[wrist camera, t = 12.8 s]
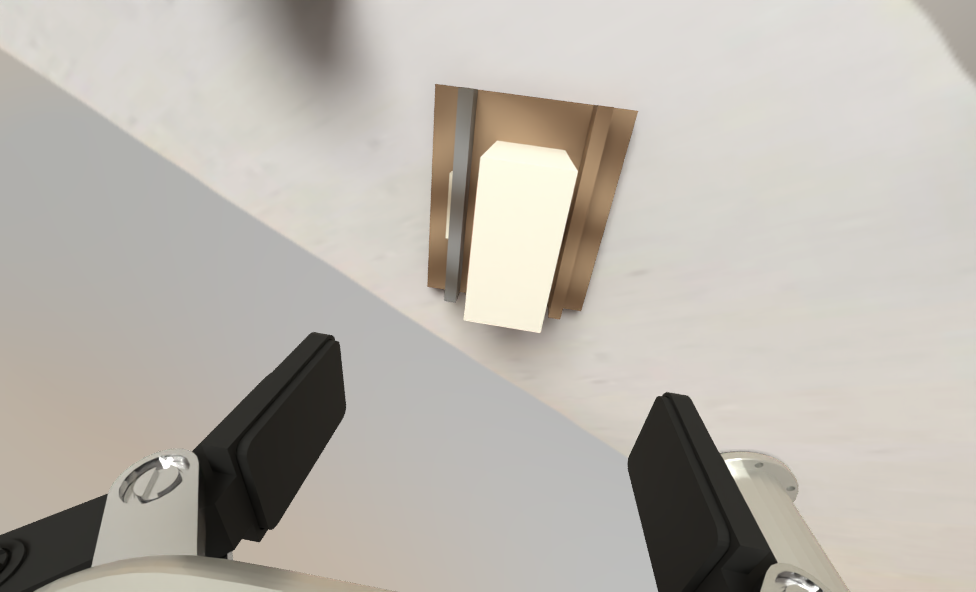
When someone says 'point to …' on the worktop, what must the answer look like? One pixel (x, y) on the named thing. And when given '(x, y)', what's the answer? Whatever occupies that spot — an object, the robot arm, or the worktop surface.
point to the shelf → (531, 121)
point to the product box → (517, 233)
